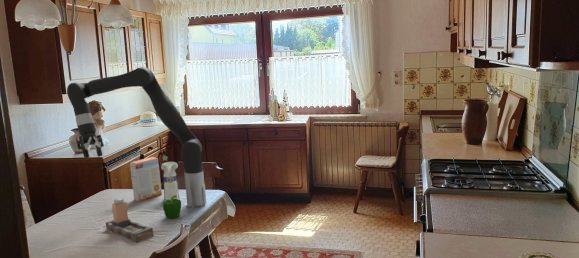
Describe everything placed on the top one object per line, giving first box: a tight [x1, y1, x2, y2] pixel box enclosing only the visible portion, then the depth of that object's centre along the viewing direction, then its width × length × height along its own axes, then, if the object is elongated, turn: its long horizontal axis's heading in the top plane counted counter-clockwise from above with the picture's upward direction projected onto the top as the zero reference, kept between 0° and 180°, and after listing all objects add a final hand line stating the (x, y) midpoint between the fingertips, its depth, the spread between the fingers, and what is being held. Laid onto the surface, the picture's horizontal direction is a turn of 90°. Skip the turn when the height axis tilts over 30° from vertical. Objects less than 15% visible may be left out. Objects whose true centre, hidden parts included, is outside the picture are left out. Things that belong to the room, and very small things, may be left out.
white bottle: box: [160, 154, 180, 202], centre depth 235 cm, size 8×9×25 cm
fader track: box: [105, 219, 154, 243], centre depth 193 cm, size 24×8×4 cm, turn 50°
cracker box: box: [129, 156, 163, 202], centre depth 240 cm, size 14×6×21 cm, turn 141°
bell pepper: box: [162, 195, 182, 220], centre depth 209 cm, size 8×8×10 cm
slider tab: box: [111, 197, 130, 227], centre depth 195 cm, size 5×6×12 cm
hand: (93, 157), depth 212 cm, fingers open, 8 cm apart
